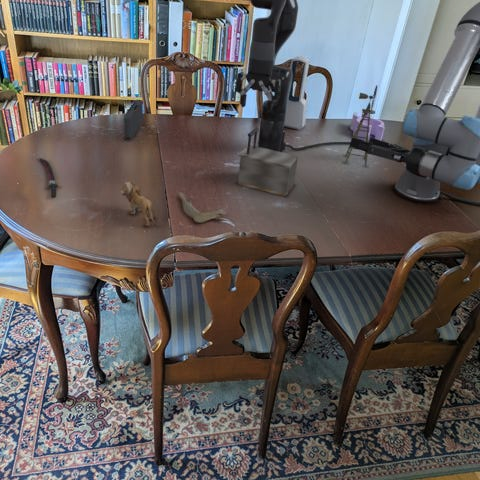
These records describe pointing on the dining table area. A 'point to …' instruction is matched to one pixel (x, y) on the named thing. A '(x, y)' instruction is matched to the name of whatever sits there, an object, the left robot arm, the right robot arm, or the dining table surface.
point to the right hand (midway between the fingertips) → (360, 141)
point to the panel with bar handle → (266, 153)
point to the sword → (52, 181)
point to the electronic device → (297, 98)
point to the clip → (374, 126)
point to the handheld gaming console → (133, 119)
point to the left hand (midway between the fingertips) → (255, 109)
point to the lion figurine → (137, 201)
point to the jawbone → (195, 213)
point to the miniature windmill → (366, 112)
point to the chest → (266, 176)
